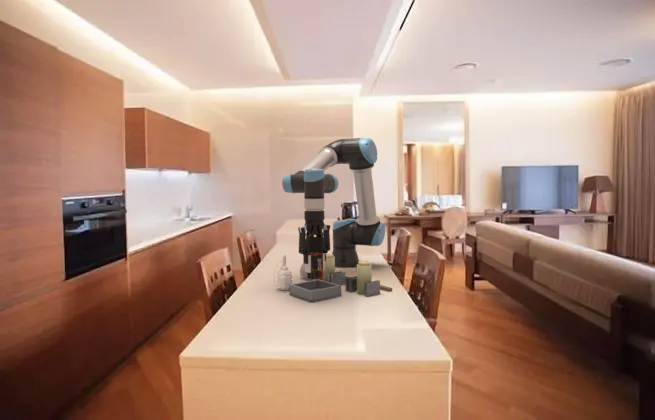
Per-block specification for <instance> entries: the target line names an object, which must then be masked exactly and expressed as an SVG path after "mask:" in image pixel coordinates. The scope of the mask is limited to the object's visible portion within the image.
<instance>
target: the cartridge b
mask: <svg viewBox="0 0 655 420" xmlns="http://www.w3.org/2000/svg"><path fill="white" fill-rule="evenodd" d="M356 276H357V291H356V293H357V294H359V295H365V283H367V282H372V264H371V262H370V261H368V260H359V262H358V264H357V266H356Z"/></svg>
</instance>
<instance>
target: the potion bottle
mask: <svg viewBox="0 0 655 420" xmlns="http://www.w3.org/2000/svg"><path fill="white" fill-rule="evenodd" d="M299 274H300V277H302V278H301V280H305V281H312V280H315V279H310V278H307V272H305V264H304V262H303V261H302V264H301V265H300V269H299Z"/></svg>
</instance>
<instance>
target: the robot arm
mask: <svg viewBox="0 0 655 420" xmlns="http://www.w3.org/2000/svg"><path fill="white" fill-rule="evenodd" d="M377 160H378V149H377V146H376V143H375V141H374V139H372V138H369V137H365V138H364V137H354V138H341V139H336V140H334V141H332V142H330V143H328V144H326V145H324V147H322V148H321V149H320V150H319V151H318V154H317V155H315V156H314V157H313V158H312V159H311V160H310V161H309V162H307V163H306V164H305V165H304V166H302V167H301V168H300V169H299V170H298V171H296V172H295V173H294V174H293V173H291V174H290V173H289V174H285V175H284V176H283V178H282V181H281V185H282V189H283V191H284V192H285V193H288V194H304V195H303V196H304V200H303V201H304V202H303V203H304V205H303V206H304V215H303V216H304V220H305V221H304V222H305V223H304V225H303V226H299V227H298V228H297V229H298V235H299V236H298V253H299V254H300V255H302V256H303V261H302V263H303V262H304V264H305V272H308V273H311V255H309V252H310V247H311V239H313V237H320V238H323V270H325V261H326V254H329V252H330V251H331V236H330V229H331V225H330V224H326V223H324V222H325V211H324V209H325V194H331V193H334V192H335V191H337V190H338V188H339V183H340V182H339V180H338V178H337V176H335V175H334V174H330V173H325V171H327V170H328V169H329V168H333V167H334V166H335V165H344V164H345V165H348V166H349V170H350V171H351V172H352V173H353V179H354V188H355V190H354V191H355V198H356V202H357V203H356V204H357V211H358V218H357V219H355V218H347V219H339V220H334V222H333V224H332V252H331V254H333V256H334V257H335V268H336V267H337V268H352V267H357V264H358V262H359V261H360V259H359V256H358V252H357V250H356V248H357V246H368V247H378V246H380V245H382V244H383V242H384V238H385V235H386V225H385V222H381V219H380V217H379V216H378V215H377V209H376V200H375V192H374V191H375V189H374V182H373V175H372V174H373V172H372V169H373V168H375V167H374V166H375V163H376V162H377Z"/></svg>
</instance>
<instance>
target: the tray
mask: <svg viewBox="0 0 655 420" xmlns="http://www.w3.org/2000/svg"><path fill="white" fill-rule="evenodd" d="M289 296H291V297H294V298H296V299H300V300H302V299H303V301H305V300H306V302H308V301H309V303H311V302H313V303H317V302H320V301H321V300H322V301H326V300H330V299H334V298H338V297H342V285H337V284H334V283H330V282H327V281H323V280H319V279H317V280H306V281H302V282H297V283H292V284H291V285H290V288H289ZM316 301H317V302H316ZM322 301H321V302H322Z"/></svg>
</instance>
